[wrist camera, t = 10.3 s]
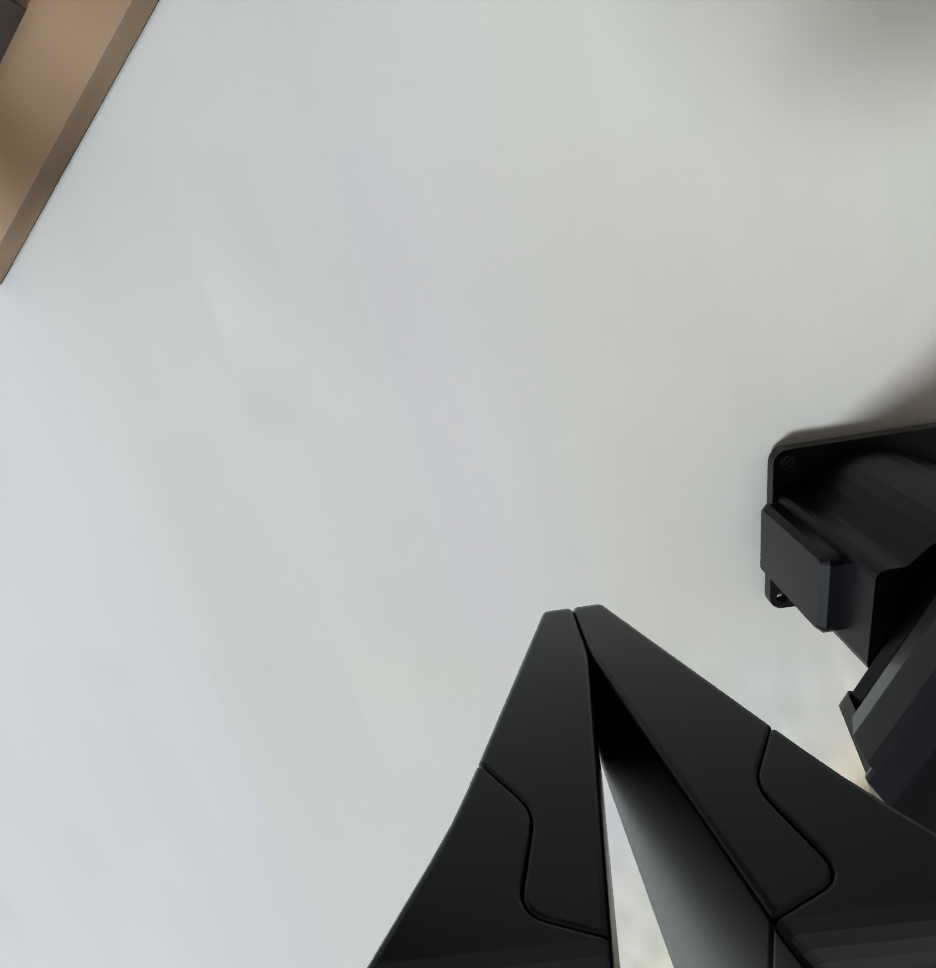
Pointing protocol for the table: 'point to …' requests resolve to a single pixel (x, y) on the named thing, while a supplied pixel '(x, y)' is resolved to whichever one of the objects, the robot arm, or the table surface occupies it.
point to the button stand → (52, 95)
